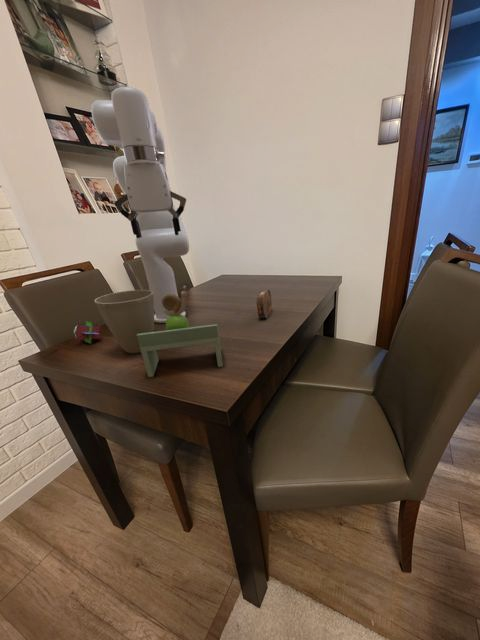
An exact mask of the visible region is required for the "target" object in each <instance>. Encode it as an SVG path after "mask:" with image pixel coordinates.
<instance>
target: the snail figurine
mask: <svg viewBox="0 0 480 640" xmlns="http://www.w3.org/2000/svg"><path fill="white" fill-rule="evenodd" d="M186 288H187V286H186V285H183V286H182V289H183V290H182V291H181V292H180V296H181V298H180V297H179V295H178V296H176V295H174V294H167V295H165V296H164V297H163V299H162V304H163V306H164V308H165V309H167V310H164V312H165V313H166V314H168V315H171V316H169V317H168V319H167V320H166V323H165V329H166V330H173V329H181V328H189V326H190V323H189V320H188V319H187V317H186V316H183V315H181V313H182V312H185V310H186V308H187V296H188V292H187V289H186Z"/></svg>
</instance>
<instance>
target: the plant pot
mask: <svg viewBox="0 0 480 640" xmlns="http://www.w3.org/2000/svg"><path fill="white" fill-rule="evenodd" d="M94 304H95V305H96V307H97V310H98V312H99V314H100V316H101V318H102V319H103V321H104V323H105V325H106V327H107V328H108V330H109V331H110V333H111V334H112V336H113V337H114V339H115V341H116V342H117V343H118V344H119V345H120V347H121V348H122V349H123V351H124V352H125V353H127V354H138V353H139V354H140V353H141V349H140V346H139V342H138V339H137V334H140V333H149V332H154V328H155V322H154V315H155V310H154V298H153V292H152V291H150V289H132V290H123V291H117V292H113V293H108V294H104V295H101V296H98V297H96V298H95V299H94Z"/></svg>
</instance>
